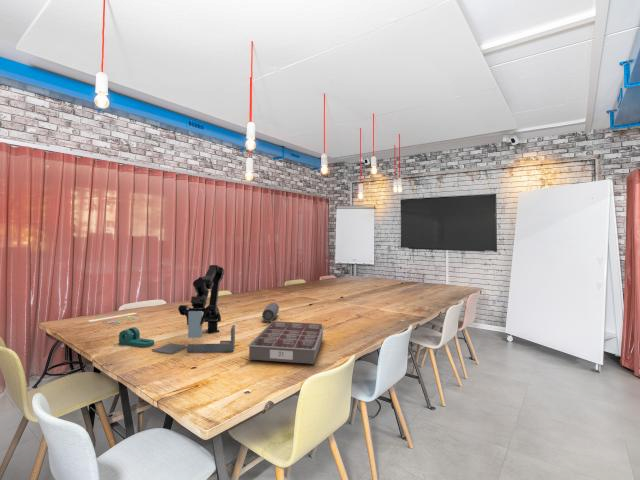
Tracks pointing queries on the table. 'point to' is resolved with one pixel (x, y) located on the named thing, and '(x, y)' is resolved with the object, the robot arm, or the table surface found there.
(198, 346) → the board rack
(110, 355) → the table surface
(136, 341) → the bracket
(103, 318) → the printed paper
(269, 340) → the organizer tray
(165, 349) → the rubber mat
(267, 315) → the bluetooth speaker
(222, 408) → the table surface
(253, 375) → the table surface
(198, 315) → the pale blue-grey block
